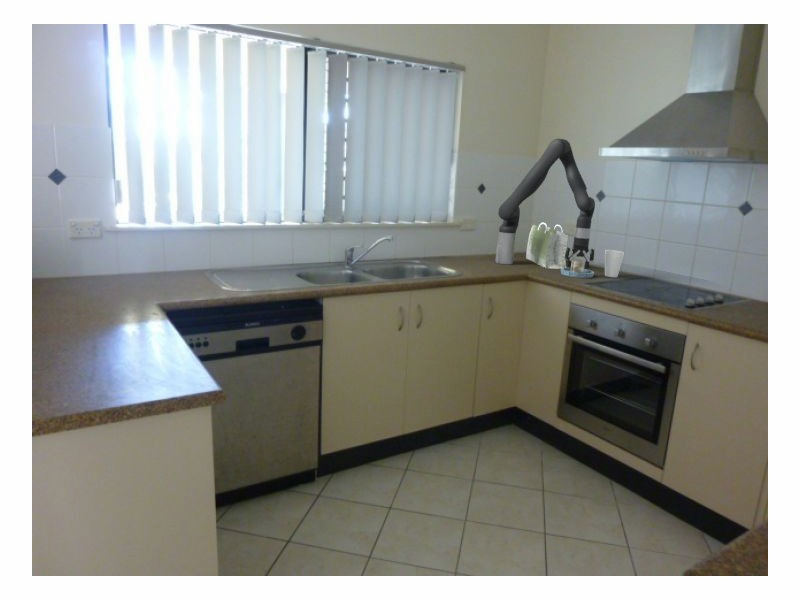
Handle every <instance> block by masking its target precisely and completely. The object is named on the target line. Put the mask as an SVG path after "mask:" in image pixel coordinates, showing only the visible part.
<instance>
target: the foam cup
mask: <svg viewBox="0 0 800 600" xmlns="http://www.w3.org/2000/svg"><path fill="white" fill-rule="evenodd" d="M624 257H625V251H623V250H616V249H605V250H604V276H605V277H609V278H618V276H619V273H620V269H621V266H622V263H623V259H624Z"/></svg>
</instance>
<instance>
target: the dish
mask: <svg viewBox="0 0 800 600" xmlns="http://www.w3.org/2000/svg"><path fill="white" fill-rule="evenodd" d="M560 274H561V275H562V276H565V277H570V278H577V279H592V278H593V277H594V274H595V272H594V271H593V270H591V269H588V268H587V269H585V268H584V272H583V273H576V272H571V268H569V267H567V268H562V269H560Z"/></svg>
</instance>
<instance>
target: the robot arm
mask: <svg viewBox="0 0 800 600" xmlns="http://www.w3.org/2000/svg"><path fill="white" fill-rule="evenodd" d="M558 160H559V161H560V162H561V163H562V166H563V168H564V171H565V177H566V180H567V183H568V185H569V188H570V190H571V192H572V194H573V198H574V200H575V205H576V206H577V208H578V209H579V215H578V217H577V218H576V226H575V231H574V234H573V236H574V237H573V244H572V247H569V246H567V248H566V253H565V260H567V264H566V267H567V268H571V264H572V260H573V259H574V258H575V257H581V258H584V259H585V264H584V269H587V270H588V268H589V267H590V262H593V261H594V259H595V248H589V244H590V238H591V228H592V219H593V215H594V213H595V207H596V202H595V199H594V198H592V197H591V196H589V195H588V191H587V190H588V189H587V185H586V183H585V181H584V179H583V177H582V175H581V172H580V171H579V168H578V166H577V163H576V159H575V157H574V153H573V150H572V146H571V143H570V141H569V140H567V139H564V138H555V139H552V140H551V141H550V143H549V144H548V145H547V147H546V149H545V150H544V151H543V154H542V155H541V156H540V157H539V159H538V161H537V162H535V163H534V165H533V167H532V168H531V169H530V170H529V171H528V172H527V174H526V175H525V176H524V177H523V179H522V180H521V182H520V183H519V184H518V185H517V186H516V188H515V190H513V192H512V193H511V195H509V196H508V197H507V199H506V200H504V202H503V203H502V204H501V205H500V206H499V208H498V213H497V214H498V216H499V218H500V219H501V220H503V222H502V224H501V225H500V226H499V228H498V230H499V231H498V237H497V238H498V239H497V244H496V249H495V263H496V264H500V265H513V264H514V254H515V243H516V235H517V230H518V227H519V222H520V215H521V210H520V205H521V204H522V203H523V202H524V201H525V200H526V199H528V198H530V196H532V195H533V194H535V193H536V192H537V191H538V189H539V188H540V187H541V186H542V184H543V183H544V182H545V179H546V178H547V175H548V173H549V172H550V169H551V168H552V166H553V165H554V164H555V163H556V162H557V161H558ZM571 252H572V253H571ZM588 252H589V255H588ZM570 253H571V254H570Z"/></svg>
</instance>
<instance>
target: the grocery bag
mask: <svg viewBox="0 0 800 600" xmlns="http://www.w3.org/2000/svg"><path fill="white" fill-rule="evenodd" d="M542 225H544V226H542ZM556 227H559V228H560V231H559V230H556ZM529 231H530V232H529V234H528V240H527V244H526V245H527V246H526V255H525V259H526V260H529V261H531V262H533V263H535V264H536V265H538V266H539V265H540V267H542V268H544V267H545V269H557V270H558V269H559V270H561V269H562V268H568V266H567V262H566V260H567V259H565V253H566V248H567V247H568V243H569V242H568V241H569V236H570V235H569V234H567V233H565V232H564V230H563V227H562V225H560V224H555V225H554V227H550V226H548V224H547V223H545V222H540V224H539V225H535V224H532V226H531V229H530V230H529Z"/></svg>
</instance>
